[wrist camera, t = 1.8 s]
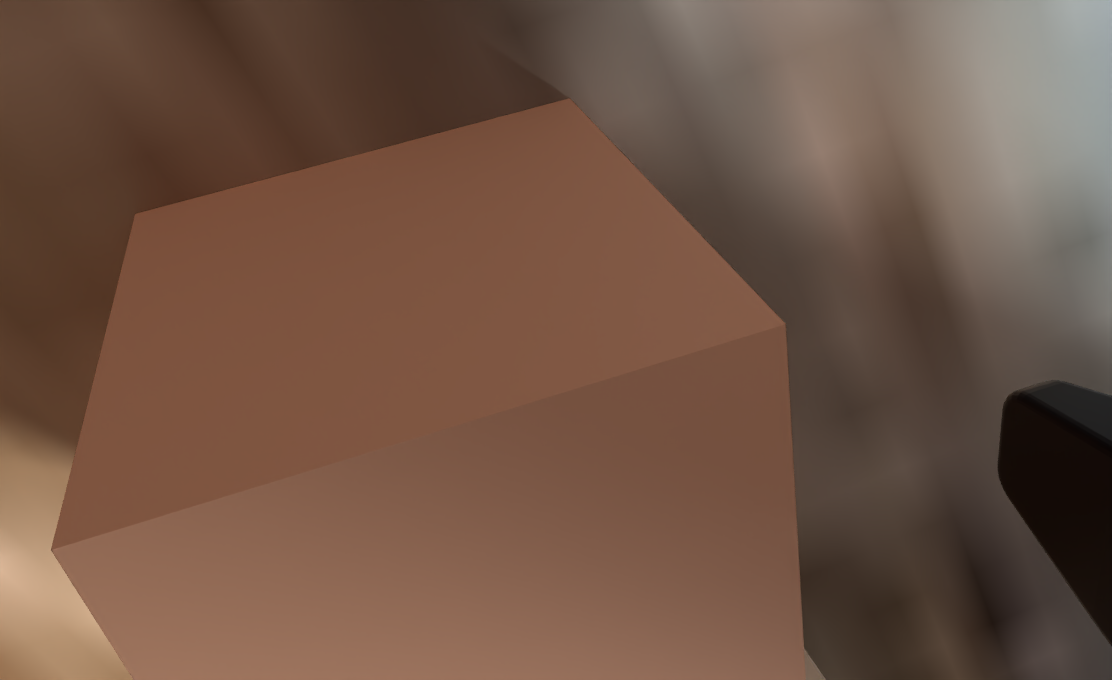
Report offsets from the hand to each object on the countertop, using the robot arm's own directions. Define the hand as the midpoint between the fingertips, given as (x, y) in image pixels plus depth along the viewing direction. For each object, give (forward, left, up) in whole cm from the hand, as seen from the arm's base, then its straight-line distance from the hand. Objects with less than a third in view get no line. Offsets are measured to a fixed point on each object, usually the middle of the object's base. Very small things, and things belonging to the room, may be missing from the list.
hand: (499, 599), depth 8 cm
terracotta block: (0, 0, -4) cm, 4 cm away
